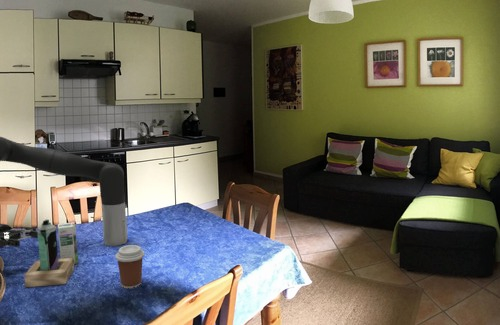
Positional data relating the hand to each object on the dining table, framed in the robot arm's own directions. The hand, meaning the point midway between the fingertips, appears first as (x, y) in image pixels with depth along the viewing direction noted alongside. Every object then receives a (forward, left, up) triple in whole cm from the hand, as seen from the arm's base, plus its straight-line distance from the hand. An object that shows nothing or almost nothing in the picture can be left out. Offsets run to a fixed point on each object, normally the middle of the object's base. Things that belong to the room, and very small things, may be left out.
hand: (29, 239), depth 132 cm
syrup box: (-10, -8, -13) cm, 18 cm away
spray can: (-7, +4, -13) cm, 15 cm away
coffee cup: (-34, +14, -13) cm, 39 cm away
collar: (-7, +4, -13) cm, 15 cm away
